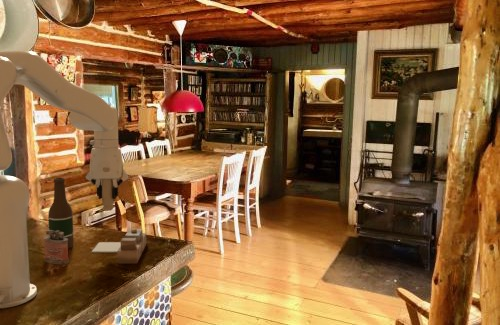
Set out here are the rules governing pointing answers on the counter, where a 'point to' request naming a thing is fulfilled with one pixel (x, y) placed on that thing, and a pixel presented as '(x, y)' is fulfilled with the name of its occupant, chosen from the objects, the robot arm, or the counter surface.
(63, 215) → the brown glass bottle
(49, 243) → the lighter
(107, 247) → the felt pad
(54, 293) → the counter surface
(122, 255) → the body
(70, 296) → the counter surface
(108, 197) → the handle
